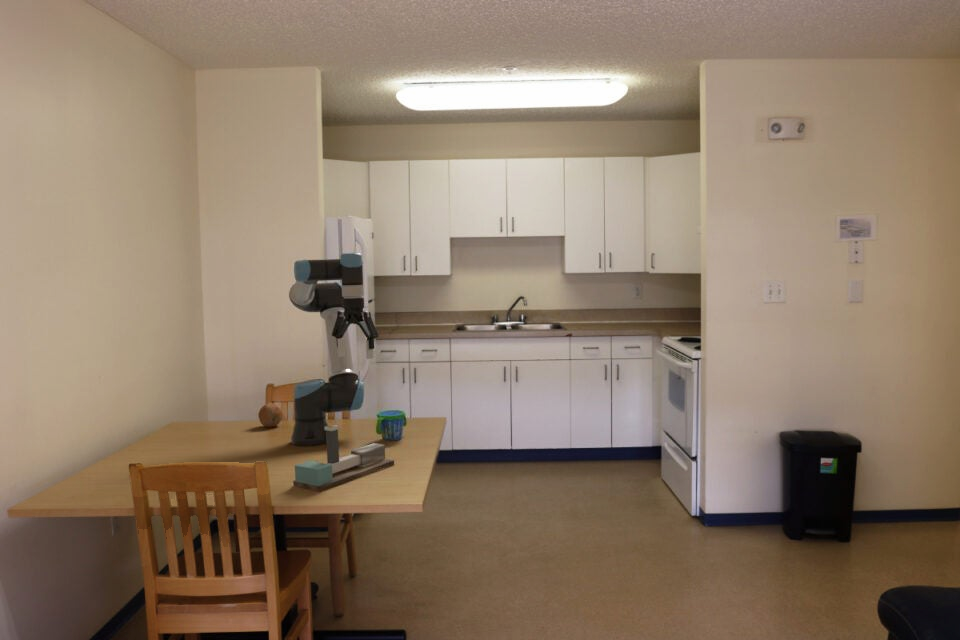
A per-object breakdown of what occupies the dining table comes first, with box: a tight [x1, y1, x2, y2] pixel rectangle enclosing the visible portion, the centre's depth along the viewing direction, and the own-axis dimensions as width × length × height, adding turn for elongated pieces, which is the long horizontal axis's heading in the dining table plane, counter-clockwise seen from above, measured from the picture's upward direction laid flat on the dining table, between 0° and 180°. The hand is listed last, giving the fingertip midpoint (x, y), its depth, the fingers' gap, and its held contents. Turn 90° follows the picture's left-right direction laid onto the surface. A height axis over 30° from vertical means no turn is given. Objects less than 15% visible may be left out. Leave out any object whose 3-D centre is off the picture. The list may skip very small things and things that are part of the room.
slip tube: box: [323, 424, 361, 474], centre depth 248 cm, size 3×22×14 cm, turn 145°
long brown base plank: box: [292, 442, 395, 492], centre depth 251 cm, size 12×34×6 cm, turn 145°
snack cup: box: [375, 409, 408, 441], centre depth 298 cm, size 16×10×10 cm
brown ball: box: [258, 402, 283, 428], centre depth 325 cm, size 10×10×10 cm
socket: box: [294, 460, 333, 486], centre depth 239 cm, size 10×6×5 cm, turn 55°
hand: (355, 357), depth 273 cm, fingers open, 13 cm apart
